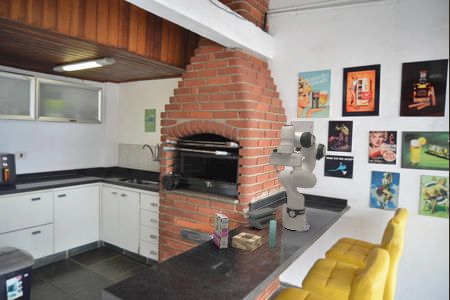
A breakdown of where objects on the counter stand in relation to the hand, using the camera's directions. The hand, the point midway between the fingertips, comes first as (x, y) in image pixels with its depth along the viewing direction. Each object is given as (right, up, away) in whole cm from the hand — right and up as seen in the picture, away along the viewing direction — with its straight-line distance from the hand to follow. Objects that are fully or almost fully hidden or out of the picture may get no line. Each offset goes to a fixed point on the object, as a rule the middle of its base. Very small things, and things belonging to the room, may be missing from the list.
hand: (284, 173), depth 179 cm
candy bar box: (-38, -38, -16) cm, 56 cm away
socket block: (-24, -38, -16) cm, 48 cm away
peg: (-10, -39, -15) cm, 43 cm away
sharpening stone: (-11, -38, +21) cm, 45 cm away
